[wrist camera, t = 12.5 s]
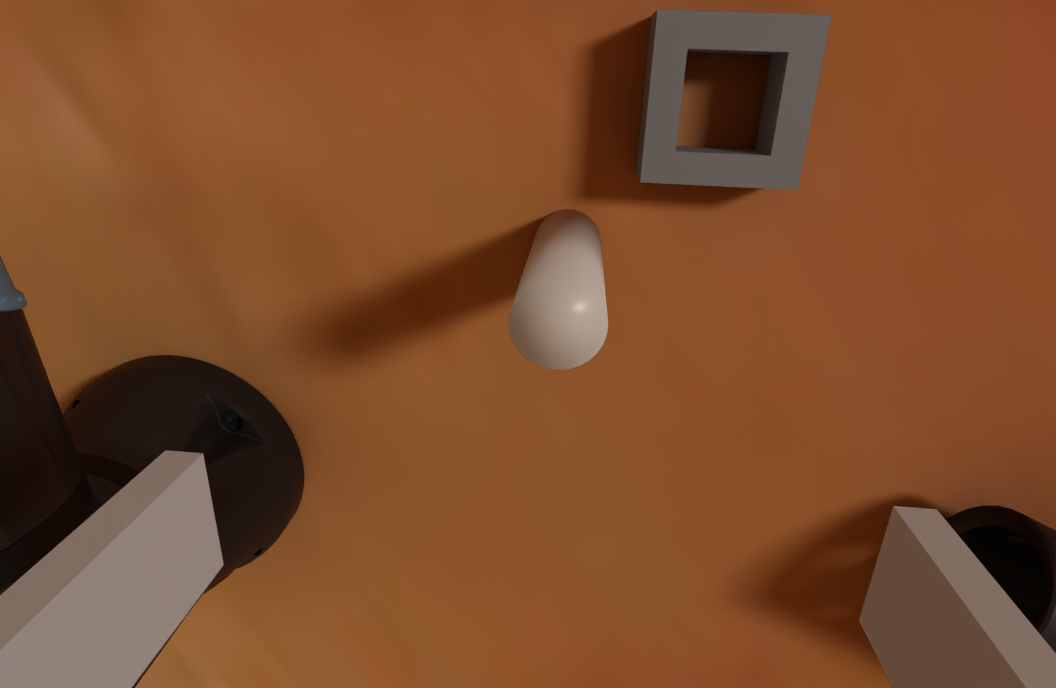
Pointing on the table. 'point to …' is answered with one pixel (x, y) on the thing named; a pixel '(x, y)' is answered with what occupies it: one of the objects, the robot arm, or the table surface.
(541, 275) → the plug
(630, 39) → the table surface
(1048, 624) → the muzzle brake
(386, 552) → the table surface
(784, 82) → the socket block
